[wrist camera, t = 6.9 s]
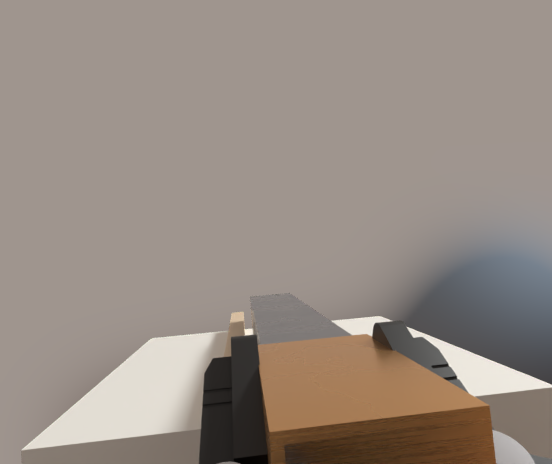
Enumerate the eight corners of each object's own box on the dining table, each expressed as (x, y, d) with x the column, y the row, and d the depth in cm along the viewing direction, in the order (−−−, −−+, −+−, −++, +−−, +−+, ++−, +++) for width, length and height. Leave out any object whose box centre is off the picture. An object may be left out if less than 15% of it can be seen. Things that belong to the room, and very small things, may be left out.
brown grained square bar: (296, 335, 30) (292, 290, 30) (516, 639, 6) (489, 405, 6) (250, 340, 29) (247, 294, 30) (288, 680, 6) (269, 432, 6)
